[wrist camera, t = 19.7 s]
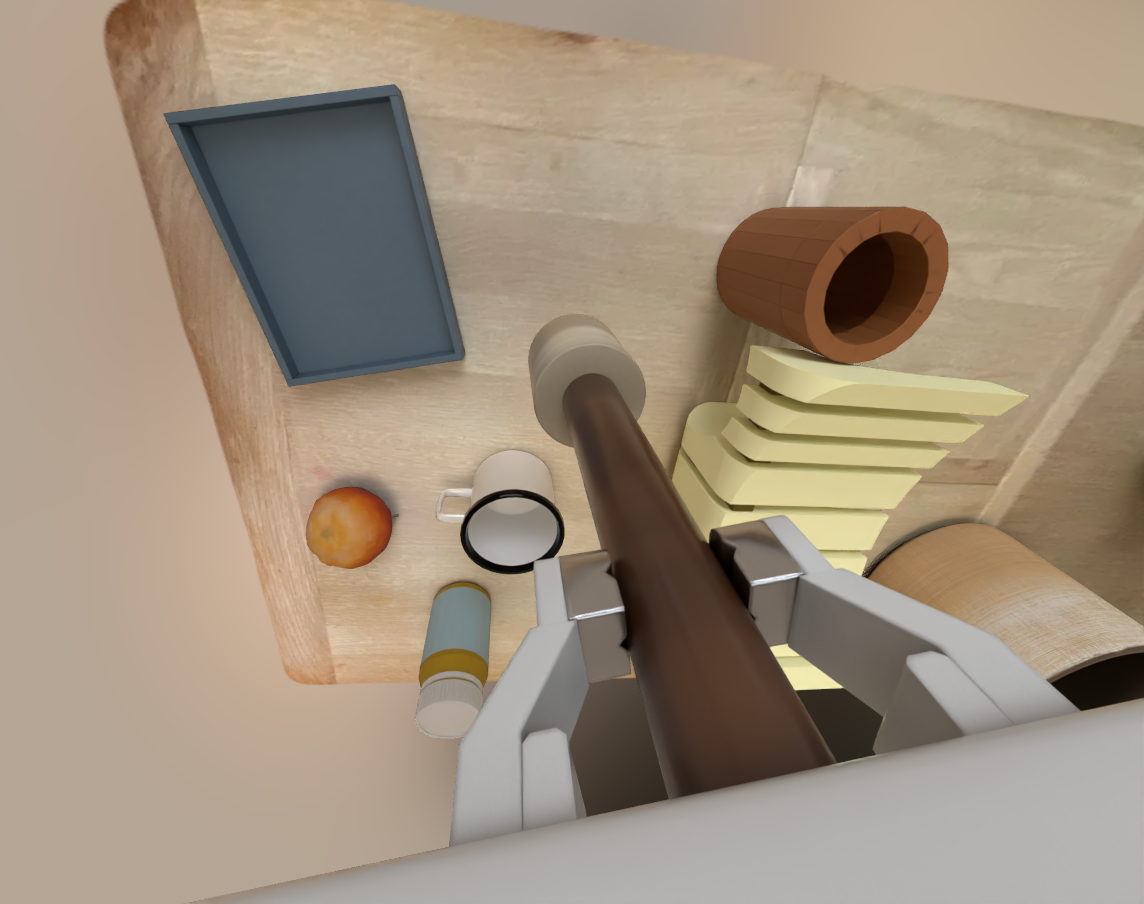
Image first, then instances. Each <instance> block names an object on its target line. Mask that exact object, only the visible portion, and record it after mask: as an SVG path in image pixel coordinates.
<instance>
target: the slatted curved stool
mask: <svg viewBox="0 0 1144 904" xmlns="http://www.w3.org/2000/svg"><path fill="white" fill-rule="evenodd" d="M746 372H747V373H749V374H750V375H752V376H753V377H755V378H756V379H758V380H759V381H760V385H750V384H743V387H742V391H741V394H740V397H739V400H738V403H723V402H706V403H703V404H700V405H699V406H697V407H695V408H694V409H693V410H692V411H691V413H690V414H689V416H688V419H687V422H686V426H685V430H684V434H683V438H682V442H681V443H682V447H681V448H680V450H679V454H678V458H677V462H676V465H675V469H674V473H673V477H672V482H673V484H674V486H675V487H676V489H677V491H678V492H679V494H680V496H681V497H682V499H683V501H684V503H685V504H686V506H687V508H688V509H689V511H690V513H691V514H692V516H693V518H694V520H695V521H696V523H697V525H698V526H699V528H700V530H701V531H702V533H703V535H704V537H705V538H706V540H707V542H708V543H709V534H710V531H711V529H713V528H718V527H723V526H729V525H734V524H739V523H744V522H749V521H754V520H759V519H763V518H767V517H772V516H777V515H782V514H783V515H785V516H787V517H788V518H789V519H790V520H791V521H792V522H793V523H794V524H795V525H796V526H797V528H798V529H799V530H800V531H801V532H802V533H803V534H804V535H805V536H806V537H807V539H808V540H809V541H810V542H811V543H812V544H813V545H814V546H815V547H816V549H817V550H818V551H819V552H820V553H821V554H822V555H823V556H824V557H825V558H826V560H827V561H828V562H829V563H830V564H831V565H832V566H833V567H834V568H835V569H839V568H844V569H846V570H849V571H851V572H853V573H856V574H858V575H860V576H861V575H862V572H863V570H864V567H865V564H866V561H867V558H866V557H865V556H864V555H863V554H862V553H861V552H860V551H855V550H871V549H872V547H873V545H874V543H875V541H876V538H877V536H878V534H879V533H880V531H881V529H882V528H883V526H884V524H885V523H886V521H887V519H888V518H889V517H888V516H887V515H886V514H885V513H884V512H882V511H881V510H866V509H848V508H883V509H895V508H896V506H897V505H898V504H899V503H900V501H901V500H902V499H903V498H904V496H905V495H906V494H907V493H908V492H909V490H910V489H911V488H912V487H913V486H914V485H915V484H916V483H917V482H918V481H919V480H920V479H921V478H922V476H921V475H919V474H918V473H916V472H915V471H913V470H911V469H910V468H932V467H933V466H934V465H935V464H937V463H938V462H939V461H940V460H941V459H942V458H943V457H945V456H946V455H947V454H948V453H949V451H948V450H946V449H944V448H942V447H940V446H939V445H937V444H935V443H933V442H947V443H962V442H963V441H964V440H966V439H967V438H968V437H970V436H971V435H973V434H974V433H975V432H977V431H978V430H979V429H981V428H982V427H983V426H985V425H983V424H981V423H979V422H976V421H974V420H972V419H970V418H968V417H965V416H963V415H961V414H975V415H990V416H1000V415H1001V414H1003V413H1004V412H1006V411H1007V410H1009V409H1011V408H1012V407H1014V406H1015V405H1017V404H1018V403H1020V402H1022V401H1023V400H1025V399H1026V398H1028V397H1030V396H1028V395H1025V394H1022V393H1019V392H1017V391H1014V390H1011V389H1008V388H1006V387H1003V386H1000V385H997V384H995V383H992V382H987V381H976V380H965V379H955V378H945V377H935V376H926V375H917V374H909V373H901V372H894V371H887V370H880V369H874V368H868V367H862V366H857V365H852V364H848V363H843V362H838V361H833V360H831V359H828V358H825V357H822V356H818V355H816V354H813V353H810V352H807V351H804V350H797V349H785V348H774V347H763V346H752V345H751V348H750V354H749V360H748V365H747V370H746ZM959 413H961V414H959ZM908 467H909V468H908ZM834 507H846V508H834ZM770 649H771V650H772V652H773V654H774V656H775V657H776V659H777V661H778V662H779V664H780V666H781V668H782V669H783V671H784V673H785V674H786V676H787V678H788V679H789V681H790V683H791V685H792V686H793V688H794V690H806V689H827V688H844V687H842V686H841V685H839V684H838V683H837V682H835V681H834V680H833V679H831V678H830V677H829V676H827V675H826V674H825V673H823V672H822V671H820V670H819V669H818V668H816V667H815V666H814V665H812V664H811V663H810V662H808V661H807V660H806V659H804V658H803V657H802V656H800V655H799V654H797V653H796V652H795V651H793V650H792V649H791V648H789V647H788V644H784V645H778V646H772V647H770Z"/></svg>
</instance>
